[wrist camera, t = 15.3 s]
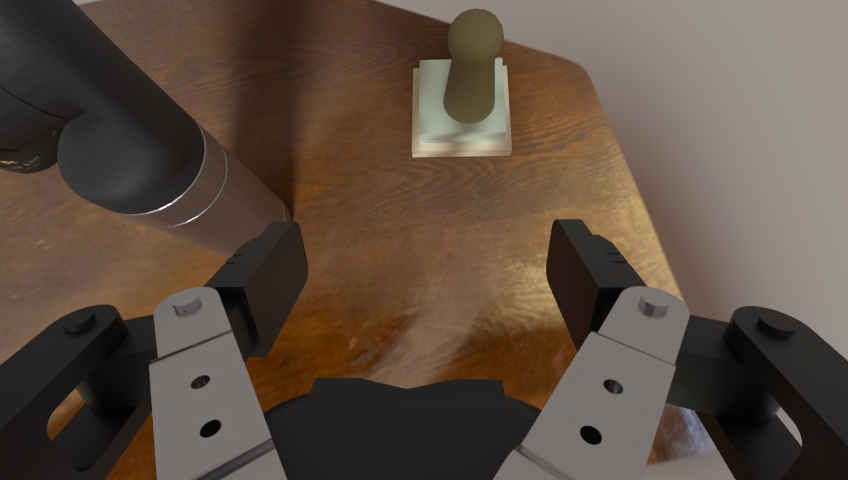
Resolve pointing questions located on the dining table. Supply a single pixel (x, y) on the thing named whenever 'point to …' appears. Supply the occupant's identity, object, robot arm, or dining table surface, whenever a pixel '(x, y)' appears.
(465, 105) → the cork
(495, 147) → the plinth
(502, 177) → the dining table surface
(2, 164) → the jar
